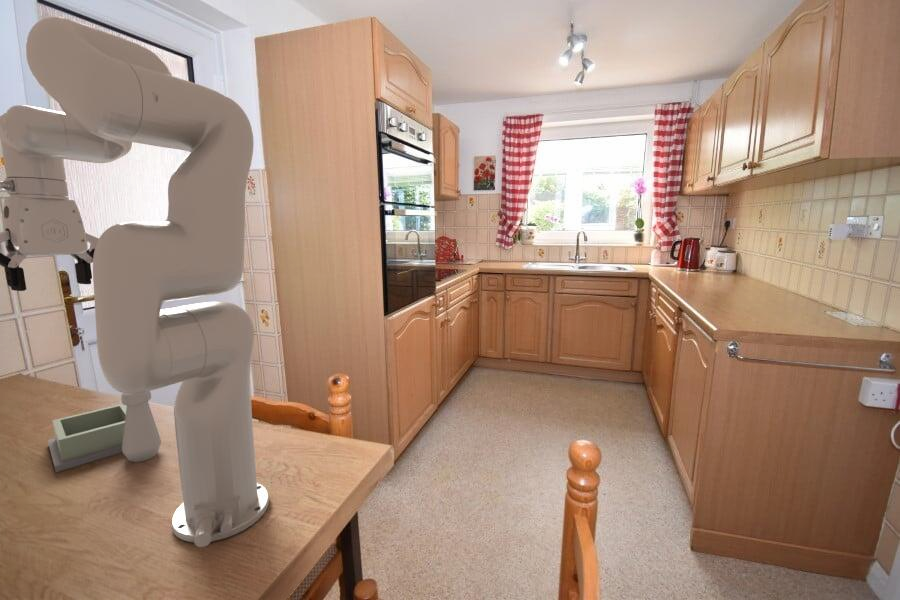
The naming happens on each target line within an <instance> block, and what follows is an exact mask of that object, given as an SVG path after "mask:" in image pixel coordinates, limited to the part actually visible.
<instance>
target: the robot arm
mask: <svg viewBox="0 0 900 600" xmlns="http://www.w3.org/2000/svg"><path fill="white" fill-rule="evenodd" d="M25 42H26V43H25V56H26V62H27V65H28V68H29V70H30V72H31V74H32V76H33V78H34V79H35V80H36V82H37V83H38V85H40V87H41V88H42V89H43V90H44V91H45V92H46V93H47V94H48V95H49V96H50V97H51V98H52V99H53V100H54V101H56V102H57V104H59V107H60V108H61V110H62V111H57V110H52V109H46V108H42V107H38V106H37V107H36V106H31V105H23V104H19V105H17V104H16V105H13V106H11V107H9V108H8V109H7V110H6V112H4V113H3V114H1V115H0V145H1V151H2V156H3V157H2V158H3V163H4V164H3V165H4V170H5V178H4V180H3V181H2V180H0V190H4V191H6V193H7V195H9V196H5V197H4V200H3V201H4V202H3V211H2V227H3V231H2V232H0V244H2V243H4V245H5V246H4V247H5V249H6V251H7V252H8V253H7V254H6V255H5V254H3V253H2V252H0V266H1V267H2V268H4V271H5V272H4V273H5V279H6V284H7V286H8V287H10V289H11V291H17V292H24V291H26V290H27V285H26V279H25V278H26V277H25V271H24V268H23V267H20V264H21V263H22V262H23V261H24V260H25V259H26V257H27V256H28V257H39V256H40V257H42V256H43V257H44V256H59V255H60V256H65V255H69V256H71V257H72V258H74V260H76V261H77V262H75V263H74V270H75V278H76V283H77V284H79V285H91V284H92V282H93V284H92V285H93V296H94V311H95V312H94V315H95V331H96V332H95V333H96V345H97V355H98V362H99V365H100V369H101V372H102V375H103V377H104V378H105V381H106V382H107V384H108V385H109V386H111V388H112V389H114V390H116V391H117V392H119V393H121V394H122V393H126V394H137V393H144V392H148V391H150V392H151V391H154V390H158V389H161V388H165V387H169V386H171V385H174V384H177V383H181V384H180V386H179V389H178V390H177V394H176V396H175V400H174V405H173V418H174V429H175V437H176V449H177V457H178V458H177V459H178V466H179V477H180V485H181V494H182V496H181V498H182V503H181V504H180V505H179V507H177V509H176V510H175V512H174V513H173V515H172V518H171V529H172V532H173V534H174V535H175V537H177V538H178V539H180V540H181V541H185V542H189V543H194V545H195V546H197V547H200V548H204V547H207V546H208V545H209V544H211V542H217V541H220V540H224V539H227V538H230V537H232V536H236V535H237V534H240V533H241V532H243V531H245V530H246V529H249V527H251V526H253V525H254V524H255V523H256V522H257V521H259V520H260V519H261V517H262V516H263V515H264V514H265V513H266V511H267V509H268V507H269V504H270V495H269V491H268V489H267V488H266V487H265V486H264V485H263V484H260V483H259V482H257V469H256V455H255V442H254V441H255V440H254V439H255V438H254V425H253V415H252V414H253V412H252V398H251V397H252V396H251V395H252V393H251V371H252V369H251V368H252V367H251V365H252V360H253V353H254V347H255V346H254V345H255V328H254V324H253V321H252V319H251V317H250V316H249V314H248V313H247V311H245V310H244V309H243V308H242V307H241V306H239V305H236V304H234V303H231V302H227V301H207V302H199V303H192V304H191V303H190V304H185V305H184V304H183V305H180V306H174V307H170V308H164V309H163V308H162V306H163V304H164V303H167V302H172V301H173V302H174V301H179V300H181V301H182V300H186V299H193V298H200V297H207V296H213V295H219V294H223V293H226V292H229V291H232V290H233V289H235V288H236V287H237V286H238V285H239V284H240V283H241V280H242V277H243V274H244V273H243V272H244V265H245V262H244V261H245V233H246V232H245V229H246V228H245V227H246V223H245V222H246V221H245V220H246V219H245V218H246V189H247V183H248V178H249V174H250V170H251V166H252V160H253V154H254V134H253V129H252V128H253V127H252V125H251V122H250V120H249V118H248V115H247V114H246V113H245V110H243V108H242V107H241V106H240V105H239V104H238V102H236V101H234V100H233V99H231V98H230V97H229V96H227V95H226V94H223V93H222V92H219V91H217V90H214V89H212V88H210V87H207V86H204V85H202V84H199V83H195V82H192V81H189V80H186V79H183V78H179V77H176V76H173V75H172V72H171V70H170V68H169V67H168V66H167V64H166V62H165V61H164V60H163V59H162V58H160V57H159V56H158V55H157V54H156V53H155V52H154V51H152V50H150V49H149V48H147V47H145V46H143V45H141V44H139V43H137V42H134V41H133V40H129V39H126V38H124V37H121V36H118V35H115V34H113V33H109V32H108V31H104V30H101V29H99V28H95V27H93V26H89V25H87V24H84V23H81V22H79V21H76V20H73V19H70V18H66V17H61V16H49V17H45V18H42V19H41V20H40V19H39V21H37V22H36V23H34V25H33V26H32V27H31V29H30V30H29V32H28V35H27V37H26V41H25ZM134 143H135V144H142V145H147V146H148V145H149V146H153V147H160V148H165V149H172V150H173V149H174V150H180V151H186V152H189V154H188V155H187V156H185V157H184V159H182V161H181V162H180V163H179V164H178V165H177V167H176V168H175V170H174V172H173V173H172V174H171V176H170V179H169V181H168V186H167V187H168V188H167V199H168V201H167V202H168V208H167V218H166V219H165V221H142V220H141V221H127V222H120V223H116V224H114V225H112V226H110V227H109V228H107V229H105V231H103V233H102V234H101V235H100V236H99V238H98V237H96V236H94V235H92V234H89V233H86V231H85V226H84V222H83V219H82V215H81V213H80V210H79V208H78V205H77V202H76V201H75V200H74V199H70V198H69V190H68V183H67V176H66V169H65V162H64V160H71V161H76V162H77V161H78V162H85V163H94V164H107V163H112V162H114V161H117V160H118V159H120V158H123V157H124V156H126V155H128V153H129V152H131V150H132V147H133V144H134ZM88 243H89V244H90V245H89V248H88ZM91 264H92V265H91ZM91 266H92V267H91Z"/></svg>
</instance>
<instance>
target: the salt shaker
mask: <svg viewBox="0 0 900 600" xmlns="http://www.w3.org/2000/svg"><path fill="white" fill-rule="evenodd" d="M151 398H152V393H151V391H148V392H144V393H137V394H126V393H122V392H121V397H120V399H121V404H123V405H126V406H127V408H126V417H125V427H124V436H123V443H122V454H123V455H124V456H125V458H127V460H128V461H129V462H131V463H132V462H133V463H140V462H144V461H148V460H151V459H153V458H154V457H155V456H157V454H158V453H159V449H160V447H161V444H162V438H161V436H160V433H159V431H158V428H157V424H156V422H155V419H154V416H153V413H152V410H151V407H150V404H149V401H150V400H151Z"/></svg>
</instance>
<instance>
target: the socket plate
mask: <svg viewBox="0 0 900 600" xmlns="http://www.w3.org/2000/svg"><path fill="white" fill-rule="evenodd" d="M126 408H127V405H123V403H119V404H116V405H115V404H114V405H111V406H108V407H103V408H98V409H95V410H89V411H85V412H81V413H78V414H73V415H70V416H65V417H60V418H57V419H52V426H53V431H54V438H49V439H47V443H48V447H49V451H50V456H51V459H52V463H53V467H54V471H55V473H59V472H62V471H65V470H68V469H72V468H76V467H78V466H82V465H85V464H88V463H91V462H95V461H98V460H101V459H105V458H109V457H112V456H115V455H118V454H123V452H122V443H123V436H124V427H125V417H126Z"/></svg>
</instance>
